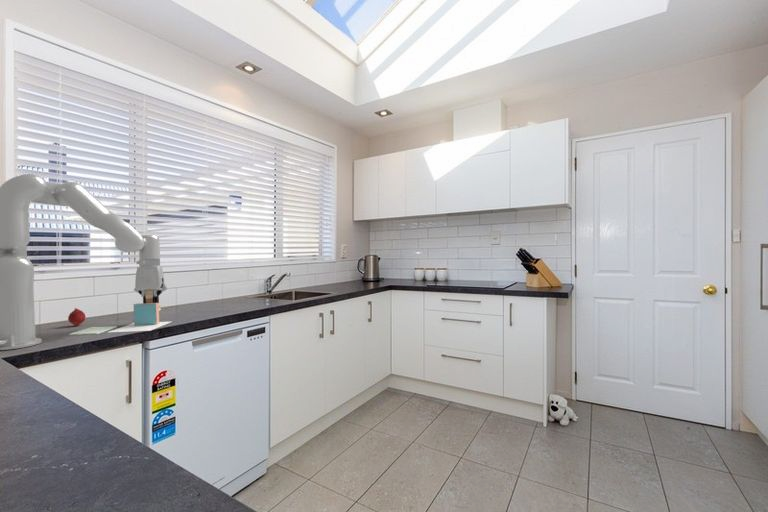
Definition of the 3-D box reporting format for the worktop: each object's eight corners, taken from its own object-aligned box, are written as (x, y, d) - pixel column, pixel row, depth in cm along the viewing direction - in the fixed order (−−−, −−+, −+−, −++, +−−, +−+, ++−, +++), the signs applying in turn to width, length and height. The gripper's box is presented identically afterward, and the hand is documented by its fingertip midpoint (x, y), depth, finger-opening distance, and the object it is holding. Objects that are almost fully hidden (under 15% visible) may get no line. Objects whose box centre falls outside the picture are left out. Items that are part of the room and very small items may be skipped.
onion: (88, 324, 162) (87, 306, 162) (81, 326, 157) (80, 308, 156) (73, 325, 161) (72, 307, 161) (65, 327, 155) (64, 309, 155)
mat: (150, 332, 142) (150, 330, 142) (106, 334, 140) (106, 332, 140) (172, 323, 160) (172, 321, 160) (133, 324, 158) (133, 323, 158)
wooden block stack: (157, 311, 157) (156, 288, 157) (142, 312, 156) (141, 289, 156) (160, 310, 160) (159, 288, 160) (146, 311, 159) (145, 288, 159)
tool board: (97, 335, 138) (97, 332, 138) (69, 337, 137) (69, 333, 137) (117, 329, 150) (117, 326, 150) (91, 330, 149) (91, 327, 149)
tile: (156, 324, 153) (155, 303, 153) (133, 325, 152) (133, 304, 152) (159, 323, 155) (158, 302, 155) (137, 324, 154) (136, 303, 154)
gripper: (124, 264, 153) (125, 307, 153) (165, 263, 155) (166, 306, 155) (134, 263, 160) (136, 304, 161) (173, 262, 162) (174, 303, 162)
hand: (151, 305), depth 158 cm, fingers closed on wooden block stack, 3 cm apart
